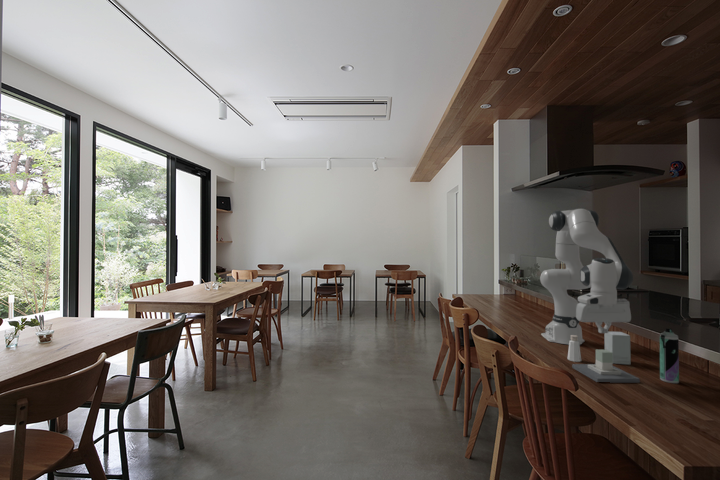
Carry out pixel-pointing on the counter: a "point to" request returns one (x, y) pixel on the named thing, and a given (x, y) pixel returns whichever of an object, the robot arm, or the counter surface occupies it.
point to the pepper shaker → (574, 349)
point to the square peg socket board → (605, 374)
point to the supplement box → (618, 347)
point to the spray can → (669, 356)
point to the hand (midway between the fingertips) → (603, 332)
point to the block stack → (604, 360)
